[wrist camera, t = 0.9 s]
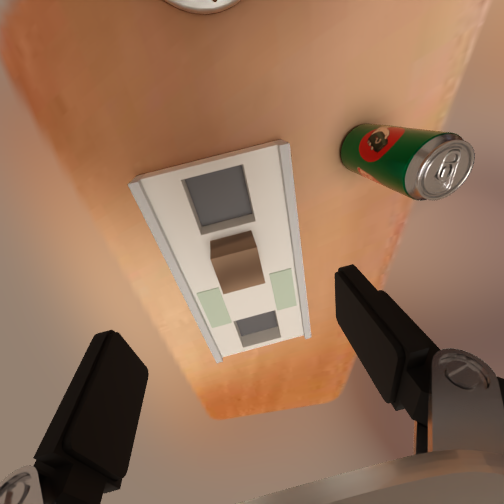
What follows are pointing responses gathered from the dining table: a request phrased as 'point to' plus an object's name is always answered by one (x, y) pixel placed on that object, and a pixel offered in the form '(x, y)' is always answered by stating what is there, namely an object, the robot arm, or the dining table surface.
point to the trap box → (230, 223)
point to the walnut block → (236, 262)
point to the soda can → (409, 159)
